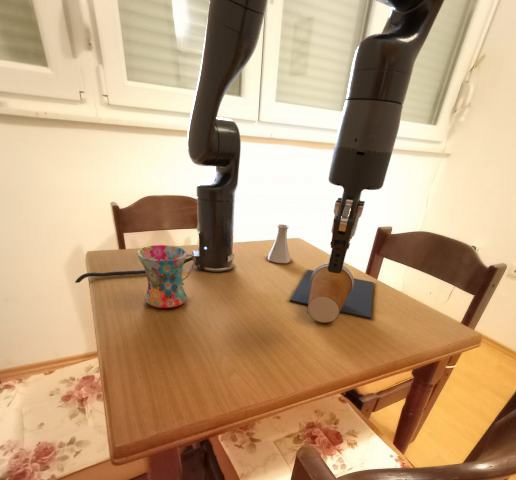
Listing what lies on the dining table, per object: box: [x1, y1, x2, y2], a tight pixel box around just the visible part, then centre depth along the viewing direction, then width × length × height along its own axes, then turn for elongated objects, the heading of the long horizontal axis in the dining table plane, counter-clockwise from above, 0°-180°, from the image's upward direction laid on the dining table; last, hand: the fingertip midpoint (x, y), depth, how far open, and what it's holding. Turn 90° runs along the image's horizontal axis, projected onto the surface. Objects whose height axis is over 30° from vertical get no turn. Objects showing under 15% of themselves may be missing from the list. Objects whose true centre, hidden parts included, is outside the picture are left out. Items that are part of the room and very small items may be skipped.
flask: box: [267, 224, 292, 264], centre depth 92 cm, size 7×7×10 cm
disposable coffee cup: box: [307, 261, 355, 324], centre depth 66 cm, size 10×10×12 cm
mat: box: [289, 269, 374, 320], centre depth 78 cm, size 22×18×1 cm
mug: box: [136, 244, 196, 309], centre depth 64 cm, size 12×9×11 cm
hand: (334, 271), depth 51 cm, fingers closed
